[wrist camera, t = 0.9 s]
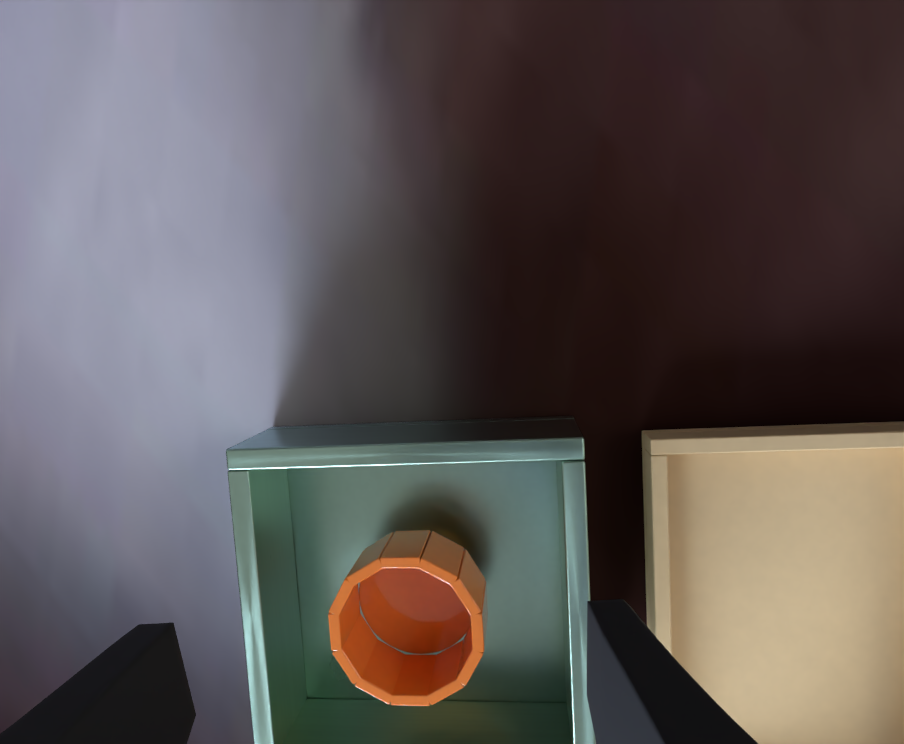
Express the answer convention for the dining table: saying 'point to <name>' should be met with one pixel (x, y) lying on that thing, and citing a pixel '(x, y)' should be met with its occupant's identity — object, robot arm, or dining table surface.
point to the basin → (407, 509)
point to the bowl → (410, 618)
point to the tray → (782, 574)
